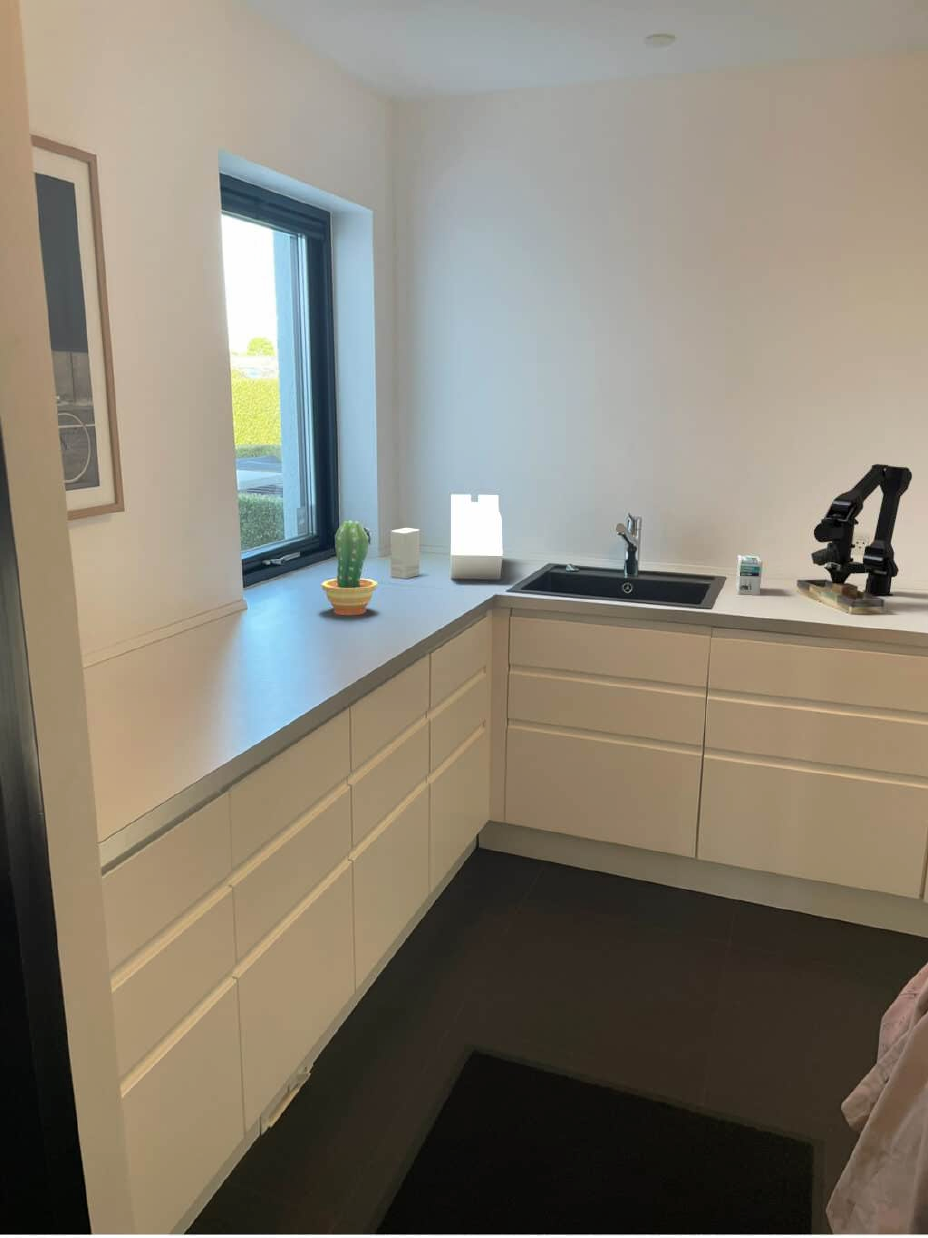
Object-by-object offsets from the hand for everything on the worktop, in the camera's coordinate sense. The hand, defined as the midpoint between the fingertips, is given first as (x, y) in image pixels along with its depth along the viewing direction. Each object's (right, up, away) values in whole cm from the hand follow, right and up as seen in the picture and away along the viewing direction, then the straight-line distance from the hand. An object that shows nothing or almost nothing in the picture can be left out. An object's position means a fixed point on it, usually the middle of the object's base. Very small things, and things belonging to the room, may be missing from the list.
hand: (836, 591), depth 277 cm
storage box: (-108, +8, +38) cm, 115 cm away
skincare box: (-131, +6, +29) cm, 134 cm away
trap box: (0, -3, 0) cm, 3 cm away
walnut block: (+1, -2, -4) cm, 4 cm away
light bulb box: (-23, 0, +14) cm, 26 cm away
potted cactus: (-143, -6, -21) cm, 145 cm away
